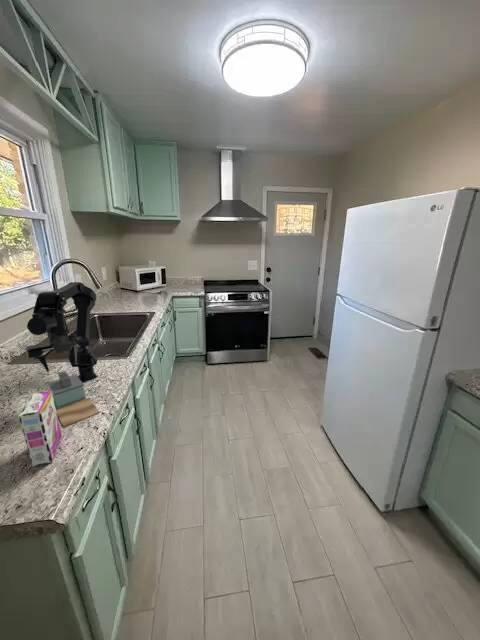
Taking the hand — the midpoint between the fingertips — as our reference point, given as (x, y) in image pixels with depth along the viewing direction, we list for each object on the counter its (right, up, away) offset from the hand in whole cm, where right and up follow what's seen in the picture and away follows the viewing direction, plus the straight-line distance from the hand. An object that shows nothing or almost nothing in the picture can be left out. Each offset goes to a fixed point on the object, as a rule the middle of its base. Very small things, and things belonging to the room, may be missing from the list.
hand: (63, 368), depth 99 cm
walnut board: (+8, -15, -4) cm, 17 cm away
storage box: (-1, -12, +4) cm, 13 cm away
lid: (-1, -8, +3) cm, 9 cm away
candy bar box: (+10, -21, -21) cm, 31 cm away
